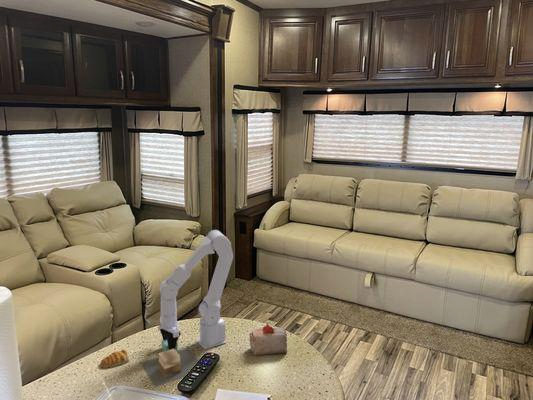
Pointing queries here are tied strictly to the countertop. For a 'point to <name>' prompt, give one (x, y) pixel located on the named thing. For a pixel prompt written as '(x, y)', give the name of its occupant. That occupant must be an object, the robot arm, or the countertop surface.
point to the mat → (186, 365)
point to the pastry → (115, 359)
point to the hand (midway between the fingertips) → (169, 346)
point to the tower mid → (169, 358)
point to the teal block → (165, 345)
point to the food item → (268, 340)
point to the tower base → (169, 370)
